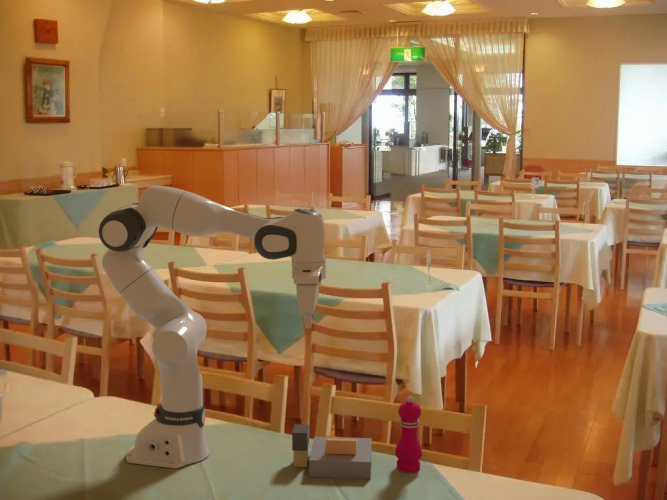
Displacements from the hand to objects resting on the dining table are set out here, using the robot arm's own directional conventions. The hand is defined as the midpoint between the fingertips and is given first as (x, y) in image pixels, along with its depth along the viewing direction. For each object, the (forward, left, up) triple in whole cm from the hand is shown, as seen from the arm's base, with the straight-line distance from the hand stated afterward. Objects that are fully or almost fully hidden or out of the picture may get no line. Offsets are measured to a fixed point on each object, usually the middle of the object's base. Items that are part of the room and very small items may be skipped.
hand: (309, 323), depth 212 cm
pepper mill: (+27, 0, -40) cm, 48 cm away
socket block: (+9, +1, -39) cm, 40 cm away
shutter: (+9, +1, -34) cm, 35 cm away
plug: (-2, +1, -39) cm, 39 cm away
